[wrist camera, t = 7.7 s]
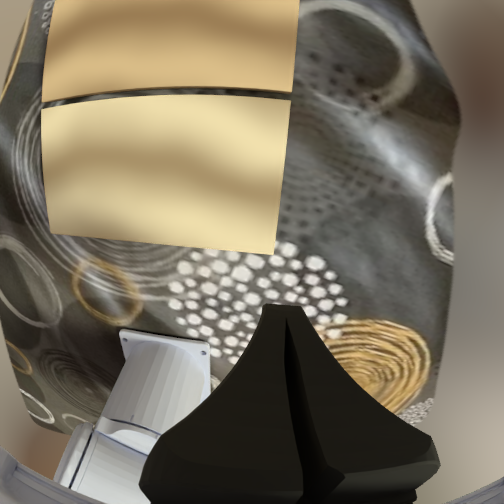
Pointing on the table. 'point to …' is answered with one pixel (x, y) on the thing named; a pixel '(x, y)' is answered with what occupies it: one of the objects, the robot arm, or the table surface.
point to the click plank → (167, 170)
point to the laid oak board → (169, 46)
